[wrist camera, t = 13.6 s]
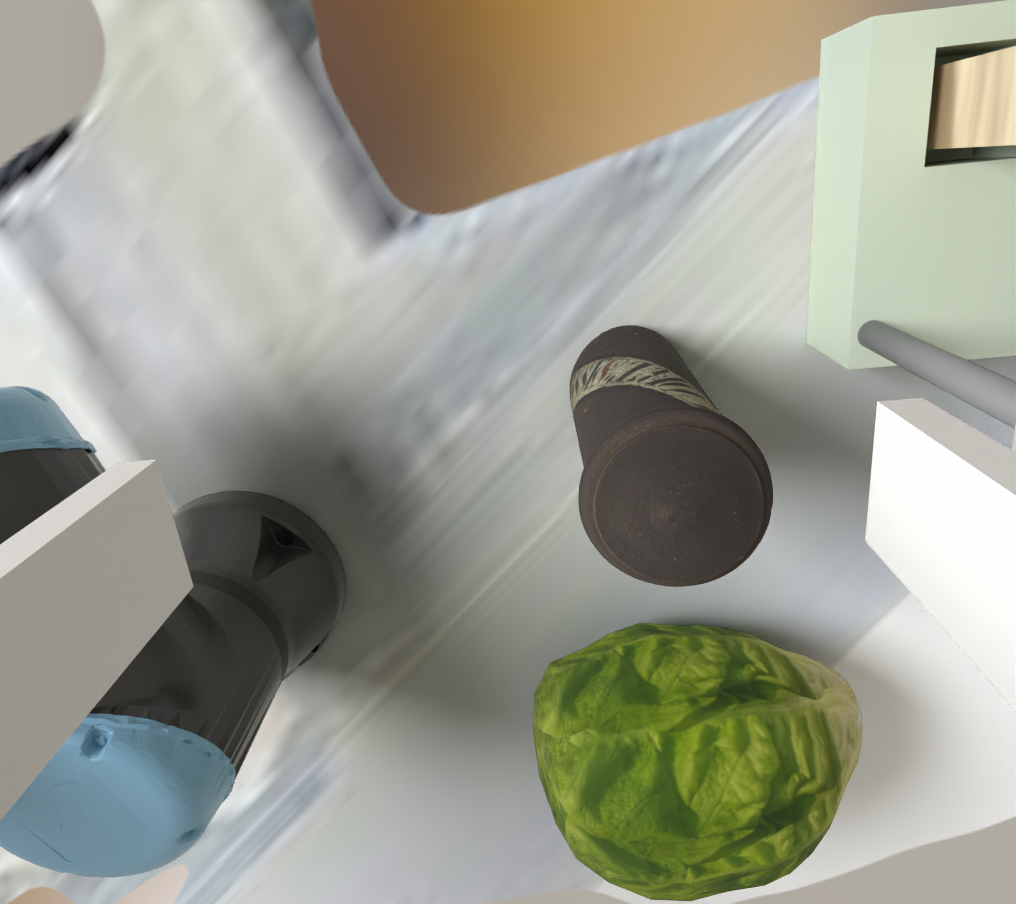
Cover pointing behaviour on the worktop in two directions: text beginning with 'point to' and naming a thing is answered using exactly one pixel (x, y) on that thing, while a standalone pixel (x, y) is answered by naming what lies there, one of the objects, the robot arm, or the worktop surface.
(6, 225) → the worktop surface
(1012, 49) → the peg
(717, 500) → the container
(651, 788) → the lettuce
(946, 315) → the socket station
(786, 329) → the worktop surface
